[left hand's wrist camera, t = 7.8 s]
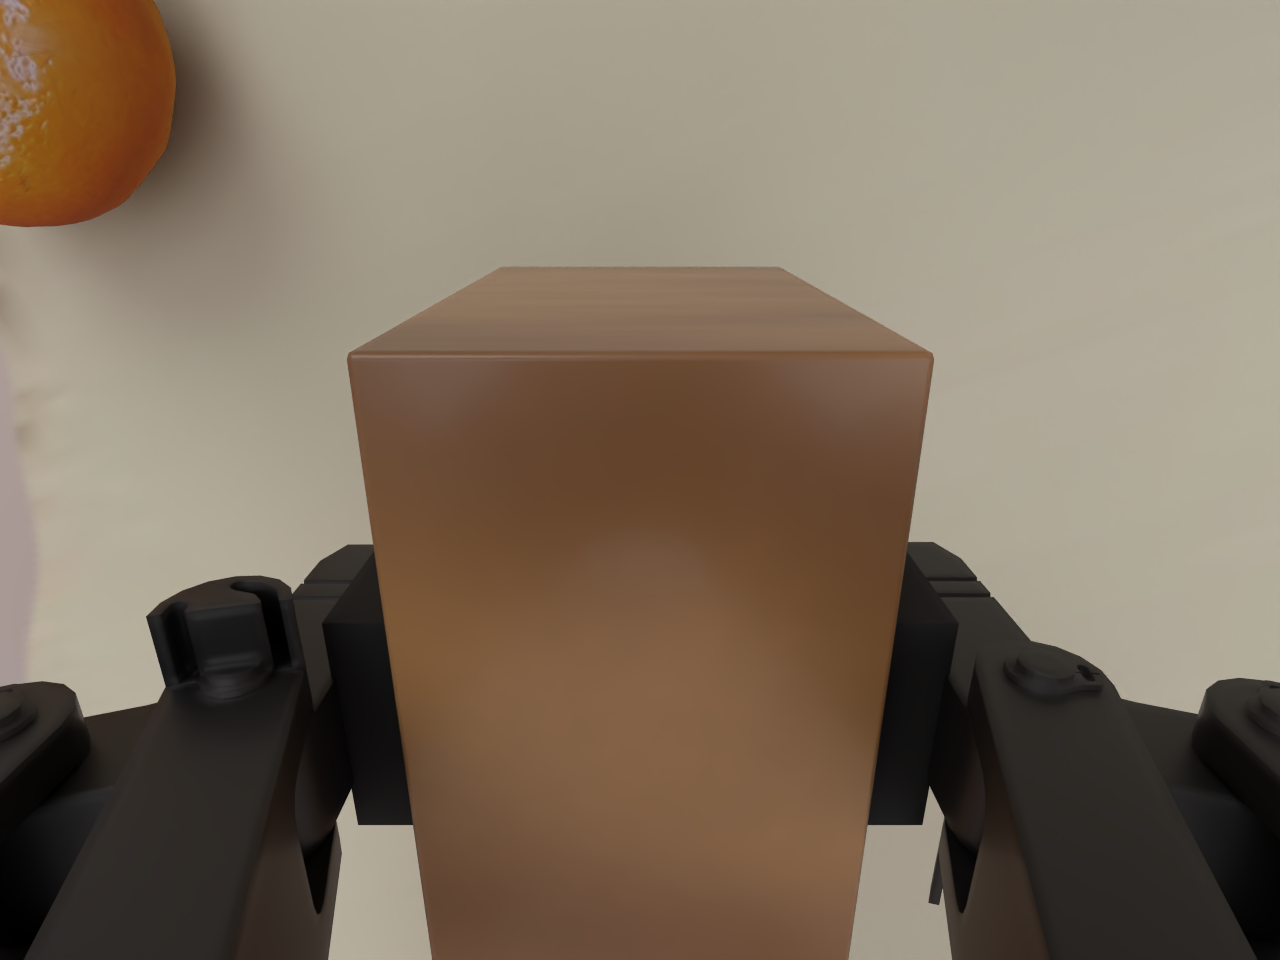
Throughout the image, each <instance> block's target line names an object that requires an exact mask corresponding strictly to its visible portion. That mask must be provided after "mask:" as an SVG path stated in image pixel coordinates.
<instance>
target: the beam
mask: <svg viewBox="0 0 1280 960" xmlns="http://www.w3.org/2000/svg"><path fill="white" fill-rule="evenodd" d="M347 363H348V370H349V377H350V384H351V391H352V398H353V405H354V412H355V419H356V426H357V433H358V440H359V447H360V454H361V461H362V468H363V475H364V482H365V489H366V496H367V503H368V511H369V518H370V525H371V532H372V539H373V546H374V553H375V560H376V567H377V574H378V581H379V588H380V595H381V602H382V609H383V616H384V623H385V630H386V637H387V644H388V651H389V658H390V665H391V672H392V679H393V686H394V693H395V701H396V708H397V715H398V722H399V729H400V736H401V743H402V750H403V757H404V764H405V771H406V778H407V785H408V792H409V799H410V806H411V813H412V820H413V827H414V834H415V841H416V848H417V855H418V862H419V869H420V876H421V883H422V891H423V898H424V905H425V912H426V919H427V926H428V933H429V940H430V947H431V954H432V960H848V958H849V951H850V944H851V937H852V930H853V923H854V916H855V909H856V902H857V895H858V888H859V881H860V874H861V867H862V860H863V853H864V846H865V839H866V832H867V825H868V818H869V811H870V804H871V797H872V790H873V783H874V776H875V769H876V762H877V755H878V748H879V741H880V734H881V727H882V720H883V713H884V706H885V699H886V692H887V685H888V678H889V671H890V664H891V657H892V650H893V643H894V636H895V629H896V622H897V615H898V608H899V601H900V594H901V587H902V580H903V573H904V566H905V559H906V552H907V545H908V538H909V531H910V524H911V517H912V510H913V503H914V496H915V489H916V482H917V476H918V469H919V462H920V455H921V448H922V441H923V434H924V427H925V420H926V413H927V406H928V399H929V392H930V385H931V378H932V371H933V364H934V357H933V354H932V353H931V352H929V351H927V350H926V349H924V348H922V347H920V346H919V345H917V344H915V343H913V342H911V341H910V340H908V339H906V338H904V337H903V336H901V335H899V334H897V333H895V332H894V331H892V330H890V329H888V328H887V327H885V326H883V325H881V324H880V323H878V322H876V321H874V320H872V319H871V318H869V317H867V316H865V315H864V314H862V313H860V312H858V311H856V310H855V309H853V308H851V307H849V306H848V305H846V304H844V303H842V302H840V301H839V300H837V299H835V298H833V297H832V296H830V295H828V294H826V293H824V292H823V291H821V290H819V289H817V288H816V287H814V286H812V285H810V284H809V283H807V282H805V281H803V280H801V279H800V278H798V277H796V276H794V275H793V274H791V273H789V272H787V271H785V270H784V269H782V268H780V267H501V268H499V269H497V270H495V271H493V272H492V273H490V274H488V275H486V276H485V277H483V278H481V279H479V280H478V281H476V282H474V283H472V284H470V285H469V286H467V287H465V288H463V289H462V290H460V291H458V292H456V293H454V294H453V295H451V296H449V297H447V298H446V299H444V300H442V301H440V302H439V303H437V304H435V305H433V306H431V307H430V308H428V309H426V310H424V311H423V312H421V313H419V314H417V315H415V316H414V317H412V318H410V319H408V320H407V321H405V322H403V323H401V324H399V325H398V326H396V327H394V328H392V329H391V330H389V331H387V332H385V333H384V334H382V335H380V336H378V337H376V338H375V339H373V340H371V341H369V342H368V343H366V344H364V345H362V346H360V347H359V348H357V349H355V350H353V351H352V352H350V353H349V354H348V358H347Z"/></svg>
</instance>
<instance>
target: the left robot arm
mask: <svg viewBox="0 0 1280 960" xmlns="http://www.w3.org/2000/svg"><path fill="white" fill-rule="evenodd" d="M146 618H147V621H148V625H149V629H150V632H151V636H152V639H153V643H154V646H155V650H156V653H157V657H158V661H159V664H160V668H161V671H162V675H163V678H164V682H165V685H166V687H165V689H164V691H163V693H162V695H161V697H160V699H159V701H158V703H154V704H150V705H146V706H141V707H136V708H131V709H126V710H120V711H115V712H110V713H105V714H100V715H95V716H89V717H83V714H82V711H81V708H80V705H79V702H78V699H77V696H76V693H75V692H74V691H72V690H71V689H70V688H68V687H67V686H66V685H64V684H59V683H51V682H43V681H41V682H32V683H24V684H12V685H7V686H2V687H0V960H328V956H329V948H330V940H331V932H332V925H333V917H334V909H335V902H336V894H337V886H338V878H339V871H340V863H341V855H342V852H341V844H340V837H339V832H338V827H337V822H336V820H337V818H338V816H339V813H340V811H341V809H342V807H343V805H344V803H345V801H346V799H347V797H348V794H349V792H350V790H351V788H352V793H353V799H354V804H355V810H356V815H357V821H358V825H413V820H412V813H411V806H410V799H409V792H408V785H407V778H406V771H405V764H404V757H403V750H402V743H401V736H400V729H399V722H398V715H397V708H396V701H395V693H394V686H393V679H392V672H391V665H390V658H389V651H388V644H387V637H386V630H385V623H384V616H383V609H382V602H381V595H380V588H379V581H378V574H377V567H376V560H375V553H374V546H373V545H346V546H345V547H343V548H341V549H340V550H338V551H336V552H335V553H333V554H331V555H330V556H328V557H326V558H324V559H323V560H321V561H320V562H319V563H318V564H317V565H316V567H315V568H314V569H313V570H312V571H311V573H310V574H309V575H308V576H307V577H306V578H305V580H304V584H300V586H299V587H298V588H297V589H296V590H295V592H294V593H293V594H292V592H291V588H290V587H289V586H288V585H286V584H285V583H284V582H282V581H281V580H279V579H274V578H269V577H264V576H235V577H230V578H225V579H219V580H214V581H209V582H206V583H203V584H200V585H197V586H194V587H192V588H189V589H186V590H183V591H181V592H179V593H177V594H176V595H174V596H172V597H170V598H168V599H166V600H165V601H163V602H161V603H160V604H159V605H158V606H157V607H156V608H155V609H154V610H153V611H151V612H150V613H149V614H148V615H147V616H146ZM929 785H930V787H931V789H932V791H933V794H934V796H935V798H936V800H937V802H938V804H939V806H940V808H941V810H942V812H943V814H944V822H943V827H942V832H941V837H940V842H939V848H938V853H937V858H936V863H935V868H934V873H933V878H932V883H931V889H930V896H929V903H932V904H936V905H939V903H940V898H941V893H942V889H943V892H944V900H945V907H946V915H947V923H948V931H949V938H950V946H951V954H952V960H1280V683H1278V682H1273V681H1267V680H1265V681H1262V680H1254V679H1245V678H1235V679H1227V680H1220V681H1217V682H1216V683H1214V684H1213V685H1212V686H1210V687H1209V688H1208V689H1206V692H1205V695H1204V698H1203V701H1202V704H1201V707H1200V710H1199V713H1198V714H1194V713H1189V712H1183V711H1178V710H1173V709H1168V708H1163V707H1157V706H1152V705H1147V704H1142V703H1136V702H1132V701H1128V700H1124V699H1121V698H1120V696H1119V694H1118V692H1117V690H1116V688H1115V686H1114V685H1113V684H1112V682H1111V681H1110V680H1109V679H1108V678H1107V677H1106V675H1105V674H1104V673H1103V672H1102V671H1101V670H1100V669H1098V668H1097V667H1095V666H1094V665H1092V664H1091V663H1089V662H1088V661H1086V660H1085V659H1083V658H1082V657H1080V656H1077V655H1075V654H1073V653H1070V652H1068V651H1065V650H1063V649H1060V648H1058V647H1055V646H1051V645H1046V644H1042V643H1037V642H1033V641H1031V640H1030V639H1029V638H1028V637H1027V636H1026V635H1025V633H1024V632H1023V631H1022V630H1021V629H1020V627H1019V626H1018V625H1017V624H1016V623H1015V622H1014V620H1013V619H1012V618H1011V617H1010V616H1009V615H1008V613H1007V612H1006V611H1005V610H1004V609H1003V607H1002V606H1001V605H1000V604H999V603H998V602H997V600H996V599H995V598H994V597H990V592H989V591H988V590H987V589H986V587H985V586H984V585H983V584H982V583H981V582H980V581H977V577H976V576H975V575H974V573H973V572H972V571H971V570H970V569H969V567H968V566H967V565H966V564H965V563H964V562H963V560H962V559H961V558H959V557H958V556H956V555H954V554H952V553H951V552H949V551H947V550H946V549H944V548H942V547H940V546H939V545H937V544H935V543H934V542H908V545H907V552H906V559H905V566H904V573H903V580H902V587H901V594H900V601H899V608H898V615H897V622H896V629H895V636H894V643H893V650H892V657H891V664H890V671H889V678H888V685H887V692H886V699H885V706H884V713H883V720H882V727H881V734H880V741H879V748H878V755H877V762H876V769H875V776H874V783H873V790H872V797H871V804H870V811H869V818H868V825H922V824H923V818H924V813H925V807H926V802H927V796H928V791H929Z"/></svg>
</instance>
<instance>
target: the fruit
mask: <svg viewBox="0 0 1280 960" xmlns="http://www.w3.org/2000/svg"><path fill="white" fill-rule="evenodd" d="M175 92H176V74H175V65H174V60H173V56H172V48H171V45H170V42H169V39H168V35H167V32H166V29H165V27H164V24H163V21H162V18H161V15H160V12H159V10H158V8H157V6H156V4H155V3H154V1H153V0H0V224H1V225H9V226H20V227H37V226H59V225H67V224H73V223H78V222H82V221H86V220H89V219H92V218H95V217H97V216H100V215H102V214H103V213H106V212H108V211H110V210H111V209H113V208H116V207H118V206H119V205H121V204H122V203H123V202H125V201H126V200H127V199H128V198H129V196H130V195H131V194H132V193H133V192H134V191H135V190H136V189H137V187H138V186H139V185H140V184H141V183H142V182H143V180H144V179H145V178H146V176H147V175H148V174H149V172H150V171H151V170H152V168H153V167H154V166H155V164H156V163H157V161H158V160H159V159H160V157H161V155H162V154H163V153H164V151H165V149H166V147H167V145H168V140H169V136H170V132H171V124H172V116H173V110H174V98H175Z"/></svg>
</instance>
